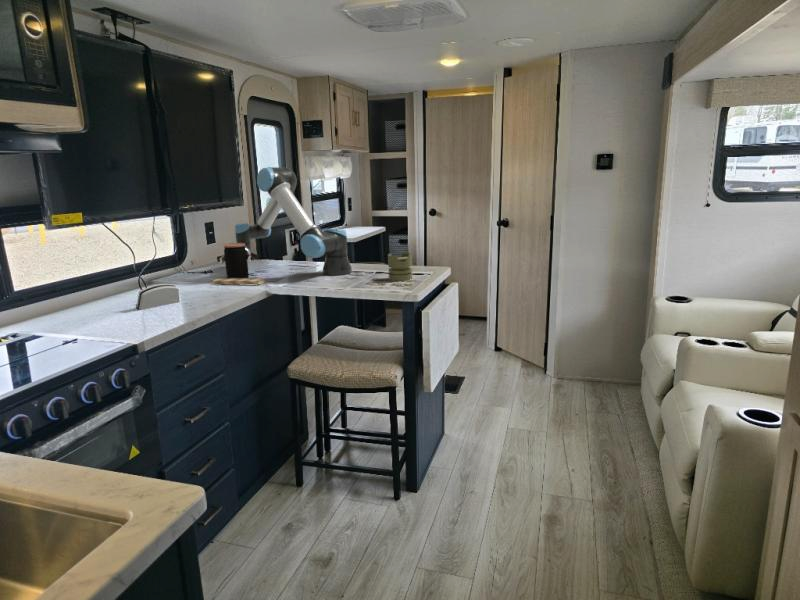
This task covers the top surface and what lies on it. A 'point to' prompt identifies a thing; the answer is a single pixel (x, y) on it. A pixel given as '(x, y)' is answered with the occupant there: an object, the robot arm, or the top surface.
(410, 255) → the piston
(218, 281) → the oak board
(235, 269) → the coffee jar
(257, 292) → the top surface
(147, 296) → the beige arched block
